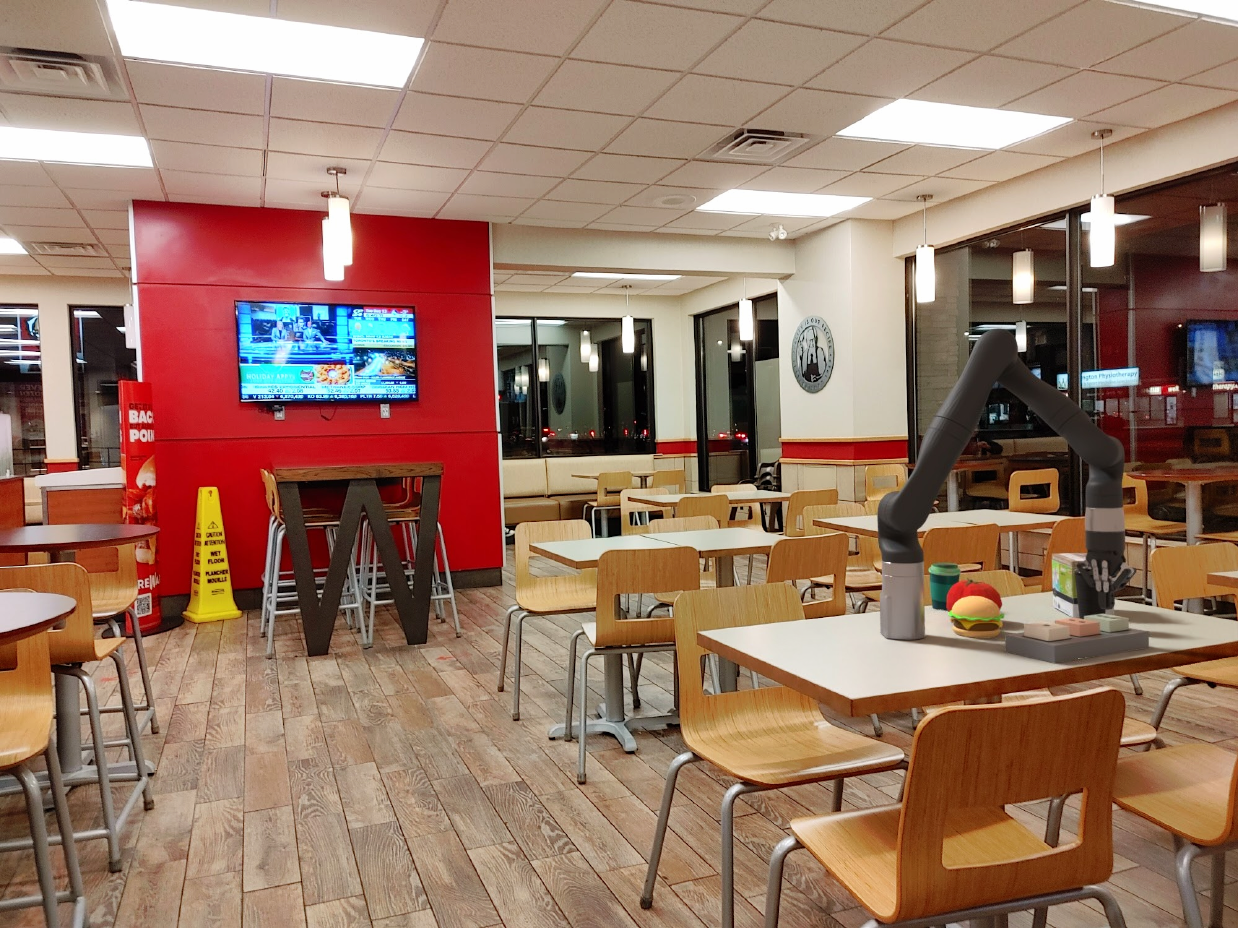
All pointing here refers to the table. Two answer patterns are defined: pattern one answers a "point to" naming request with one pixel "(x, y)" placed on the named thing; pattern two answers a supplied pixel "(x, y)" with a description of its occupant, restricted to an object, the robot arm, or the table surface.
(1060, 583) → the tea box
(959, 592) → the tomato
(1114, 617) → the sage tile
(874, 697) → the table surface
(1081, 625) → the terracotta tile
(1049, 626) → the cream tile
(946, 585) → the cup
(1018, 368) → the robot arm
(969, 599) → the hamburger
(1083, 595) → the drinking cup
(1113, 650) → the console
